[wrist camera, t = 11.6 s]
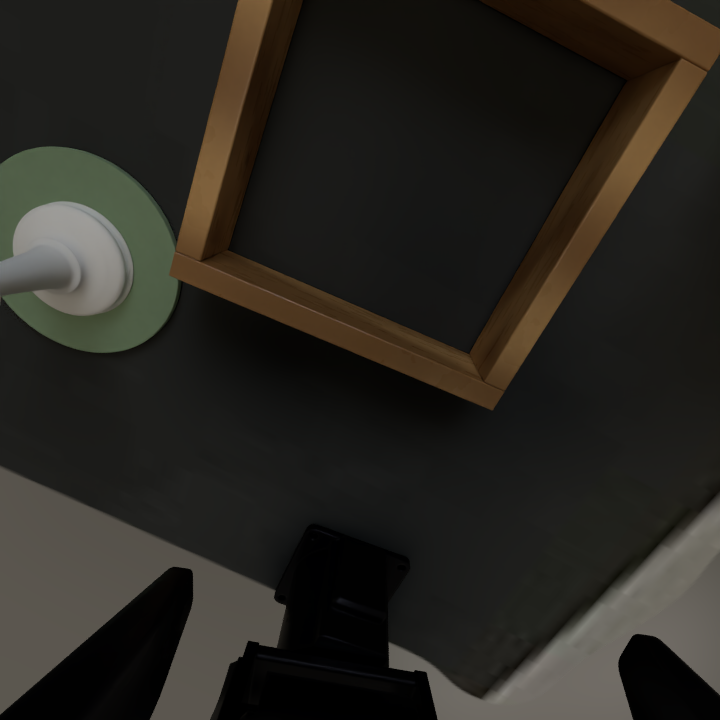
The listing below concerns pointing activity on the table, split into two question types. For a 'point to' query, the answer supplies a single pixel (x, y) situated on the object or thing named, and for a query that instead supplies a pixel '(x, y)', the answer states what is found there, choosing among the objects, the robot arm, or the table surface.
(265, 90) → the wooden frame
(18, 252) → the chess piece
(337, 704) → the robot arm
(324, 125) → the table surface
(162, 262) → the felt coaster
